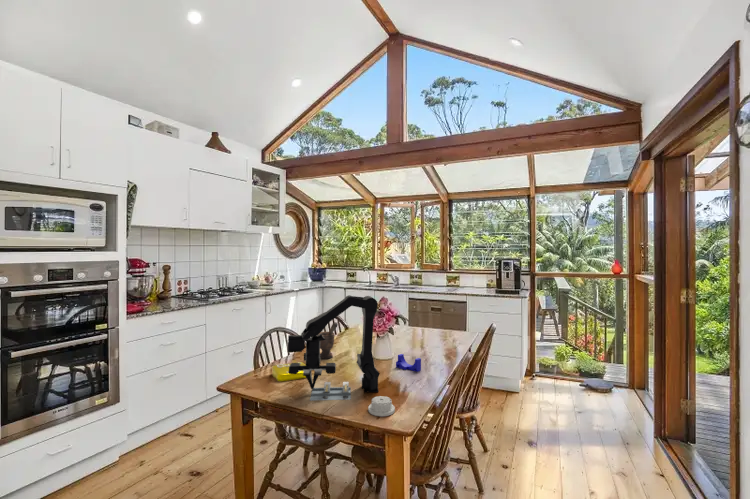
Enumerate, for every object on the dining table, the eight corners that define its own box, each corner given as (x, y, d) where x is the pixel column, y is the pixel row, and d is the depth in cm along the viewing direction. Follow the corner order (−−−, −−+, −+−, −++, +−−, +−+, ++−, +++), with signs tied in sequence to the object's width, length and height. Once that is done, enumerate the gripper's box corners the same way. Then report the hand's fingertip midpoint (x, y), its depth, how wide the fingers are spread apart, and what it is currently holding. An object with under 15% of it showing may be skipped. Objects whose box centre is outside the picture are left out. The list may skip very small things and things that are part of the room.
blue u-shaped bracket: (396, 367, 191) (396, 355, 190) (401, 365, 194) (401, 353, 194) (415, 373, 183) (415, 360, 183) (420, 370, 186) (421, 358, 186)
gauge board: (350, 390, 161) (350, 379, 161) (350, 401, 149) (350, 390, 149) (312, 390, 160) (312, 380, 160) (309, 402, 148) (309, 391, 148)
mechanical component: (400, 410, 142) (379, 403, 149) (400, 398, 142) (379, 392, 148) (383, 420, 135) (362, 411, 141) (383, 407, 134) (362, 400, 141)
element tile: (277, 385, 167) (278, 374, 167) (271, 374, 180) (271, 364, 180) (311, 380, 173) (311, 369, 173) (302, 370, 187) (302, 360, 187)
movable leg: (330, 390, 158) (330, 381, 158) (329, 398, 150) (329, 389, 150) (324, 390, 158) (324, 382, 158) (323, 398, 150) (323, 389, 149)
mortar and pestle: (341, 356, 209) (341, 320, 208) (336, 360, 200) (336, 323, 200) (321, 354, 212) (322, 318, 211) (315, 359, 203) (316, 322, 203)
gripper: (336, 345, 164) (335, 381, 164) (292, 345, 162) (292, 381, 162) (335, 353, 152) (335, 391, 153) (288, 353, 151) (288, 392, 151)
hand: (312, 388), depth 155 cm, fingers closed
